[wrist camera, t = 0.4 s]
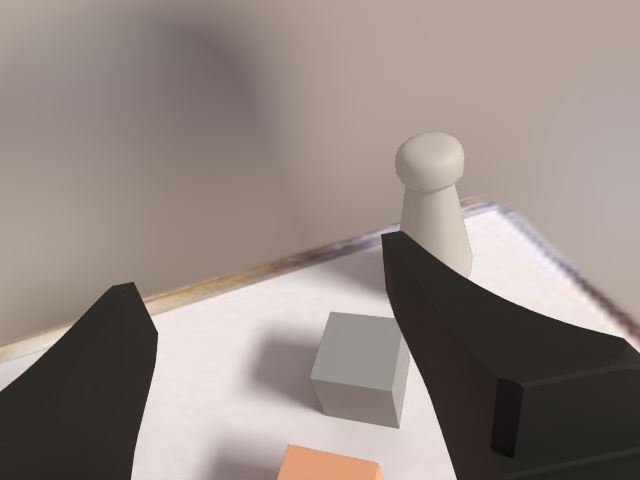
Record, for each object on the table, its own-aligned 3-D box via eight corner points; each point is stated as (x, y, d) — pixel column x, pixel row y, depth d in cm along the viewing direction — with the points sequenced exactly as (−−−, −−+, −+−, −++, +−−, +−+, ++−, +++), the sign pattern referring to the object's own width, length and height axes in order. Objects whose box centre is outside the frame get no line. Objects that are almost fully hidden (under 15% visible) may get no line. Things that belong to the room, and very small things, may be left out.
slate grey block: (399, 429, 29) (391, 391, 26) (325, 415, 31) (309, 378, 28) (409, 360, 33) (404, 319, 29) (342, 352, 34) (330, 311, 31)
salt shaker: (387, 296, 37) (365, 164, 28) (413, 248, 40) (401, 116, 31) (459, 317, 34) (459, 178, 25) (481, 264, 37) (489, 124, 29)
